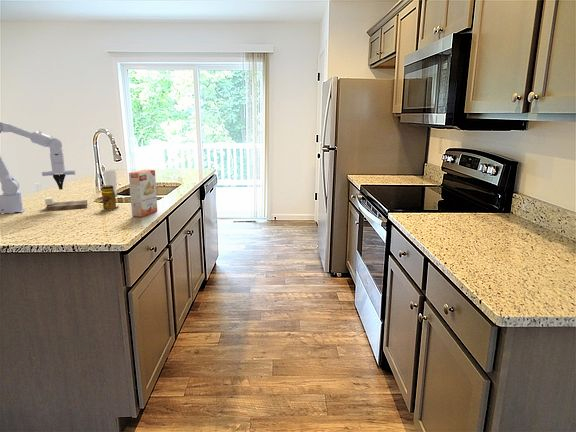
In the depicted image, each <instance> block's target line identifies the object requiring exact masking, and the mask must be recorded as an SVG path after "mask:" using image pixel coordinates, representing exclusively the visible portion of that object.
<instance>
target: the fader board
mask: <svg viewBox="0 0 576 432" xmlns="http://www.w3.org/2000/svg"><path fill="white" fill-rule="evenodd" d="M87 208H88V200H87V199H85V200H84V199H83V200H71V201H61V202H60V201H57V202H54V203H53V205H46V208H45V209H46V212H50V211H49V210H53V211H63V210H66V211H67V210H74V209H76V210H77V209H87Z"/></svg>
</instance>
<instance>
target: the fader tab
mask: <svg viewBox="0 0 576 432" xmlns="http://www.w3.org/2000/svg"><path fill="white" fill-rule="evenodd" d="M44 201H45V205H46V206H47V205H53V203H55V202H54V197H53V196H51V197H50V196H47V197H45V199H44Z"/></svg>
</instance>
